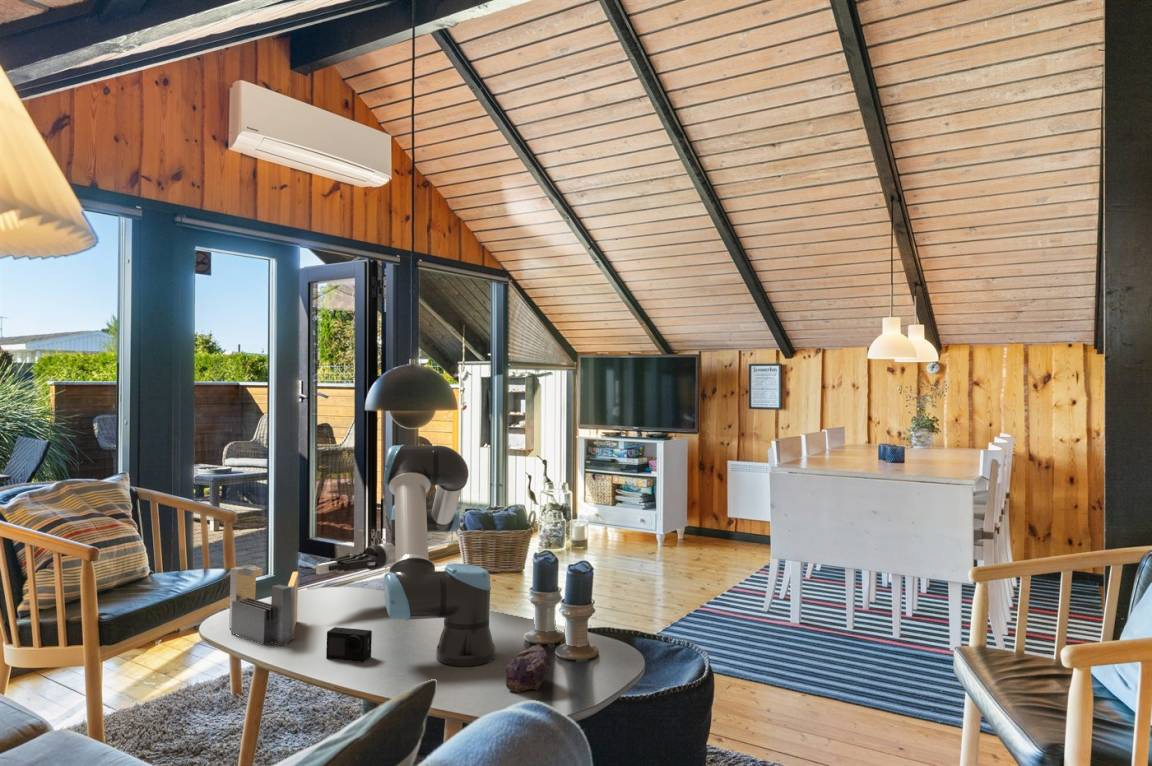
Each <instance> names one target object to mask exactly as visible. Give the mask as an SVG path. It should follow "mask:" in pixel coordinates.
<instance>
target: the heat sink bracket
mask: <svg viewBox="0 0 1152 766" xmlns="http://www.w3.org/2000/svg"><path fill="white" fill-rule="evenodd" d="M263 570H264V569H263V568H262V567H258V566H256V565H254V564H253V565H252V564H247V565H239V566H235V567H230V581H229V582H230V583H229V587H230V588H229V612H228V613H229V614H228V616H229V617H228V618H229V619H228V628H229V627H231V629H230V630H231V631H230V633H234V634H237V635H239V636H241V637H240V638H242V637H244V638H243V639H245V638H247V639H246V640H248V639H250V640H249V641H251V640H253V641H252V642H254V641H256V642H255V643H257V642H259V643H258V644H260V643H262V644H261V645H263V644H264V645H267V644H266V643H268V644H271V643H270V642H273V643H272V644H274V643H276V644H275V645H277V644H279V645H278V646H280V645H283V646H286V645H285V644H287V645H289V644H290V641H291V640H290V609H291V587H288V585H283V584H275V585H272V586H271V601H270V603H267V602H264V601H261V600H257V599H256V589H257V588H256V587H257V586H256V585H257V583H256V582H257V577H262V576H263ZM239 636H238V637H239ZM288 643H289V644H288Z"/></svg>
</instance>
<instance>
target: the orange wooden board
mask: <svg viewBox="0 0 1152 766" xmlns="http://www.w3.org/2000/svg"><path fill="white" fill-rule="evenodd" d="M287 586H288V587H291V609H290V641H291V640H293V639H294V638H295V636H294V634H295V628H296V624H297V621H298V600H299V599H298V597H299V596H298V594H299V593H298V592H299V591H298V590H299V571H292V573H291V576H290V579H289V581H288V585H287Z"/></svg>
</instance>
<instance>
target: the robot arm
mask: <svg viewBox="0 0 1152 766" xmlns="http://www.w3.org/2000/svg"><path fill="white" fill-rule="evenodd" d="M386 454H387V455H386V459H385V469H384V472H383V473H384V475H383V485H384V486H386V487H388V489H389V491H390V493H391V494H392V495H393V496H394V505H392V507H391V517H390V523H391V526H390V542H383V543H380V544H379V543H378V544H375V545H370V546H367V547H366V548H365V549H364V550H363V552H358V553H355V554H351V553H350V552H347V553H346V554H344V555H340V556H338V557H337V556H336V557H334V558H331V559H330V561H327V562H322V563H318V564H316V565H315V568H316V569H315V574H316V575H323V574H328V573H333V572H337V571H341V572H342V571H343V572H350V571H357V570H362V569H368V570H370V571H375V570H379V569H383V568H384V569H388V567H390V568H389V571H388V572H387V573H385V574H384V577H383V590H384V600H385V608H386V613H387V616H388V617H389V618H390V619H391V620H396V621H398V620H399V621H401V620H402V621H410V620H425V619H427V620H428V619H443V629H442V631H441V634H440V638H439V641H438V644H437V646H436V651H435V657H436V660H437V661H438V662H440V663H442V664H443V665H447V664H449V665H448V666H452V665H455V666H454V667H474V666H473V665H475V666H479V665H478V664H481V665H484V664H483V663H485V664H487V663H486V662H488V661H490V660H492V659H493V658H494V657H495V658H496V646H495V643H494V641H493V637H492V633H491V629H490V610H491V609H490V607H491V606H490V604H491V603H490V602H491V590H492V586H491V576H490V572H489V571H488V570H486V569H485V568H483V567H481V566H477V565H473V564H466V563H449V564H447V565H445V568H444V570H438V571H437V570H436V567H435V563H434V562H433V561H432V560H430V559H429V541H428V540H429V539H428V533H451V532H452V533H453V532H454V533H455V532H457V531H458V530H459V528H460V512H459V510H458V509H457V508H458V503H459V500H460V496H461V493H462V490H463V488H465V486H466V485H467V482H468V478H469V468H468V465H467V462H466V461H465V459H464V458H463V456H462V455H460V454H459V452H458V451H457V450H455V449H452V448H451V447H449V446H444V445H437V444H436V445H421V444H420V445H412V444H411V445H407V444H401V445H393V446H392V445H391V446H390V447H389V448H388V450H387V453H386ZM431 486H436V490H435V495H434V500H433V504H432V509H427V499H426V498H427V496H426V494H427V493H428V492H429V490H430V489H431ZM495 658H494V659H495ZM494 659H493V660H494ZM493 660H492V661H493ZM490 662H491V661H490ZM488 663H489V662H488Z"/></svg>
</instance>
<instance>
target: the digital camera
mask: <svg viewBox="0 0 1152 766" xmlns="http://www.w3.org/2000/svg"><path fill="white" fill-rule="evenodd" d="M372 634H373V631H372V630H370V629H359V628H348V627H346V628H345V627H332V628H331V629H329V630H327V632H326V648H325V649H326V656H325V657H326V658H327V660H334V659H335V660H336V661H337V660H338V661H344V662H345V661H346V662H356V663H365V662H366V661H368V660H369V659H370V658H371V657H372V643H373V642H372V637H373V635H372ZM335 660H334V661H335Z"/></svg>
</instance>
